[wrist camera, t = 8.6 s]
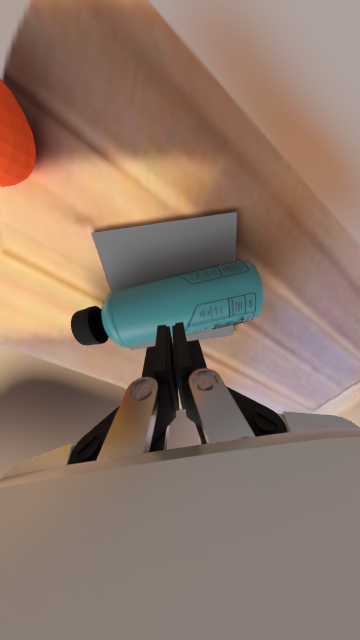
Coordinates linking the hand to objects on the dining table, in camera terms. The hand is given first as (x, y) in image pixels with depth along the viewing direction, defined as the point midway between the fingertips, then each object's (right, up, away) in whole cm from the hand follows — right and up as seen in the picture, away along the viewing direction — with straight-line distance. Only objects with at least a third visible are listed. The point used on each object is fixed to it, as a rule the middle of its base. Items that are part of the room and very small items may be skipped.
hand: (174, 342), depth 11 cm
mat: (0, +5, +10) cm, 11 cm away
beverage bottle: (+9, +5, +6) cm, 12 cm away
